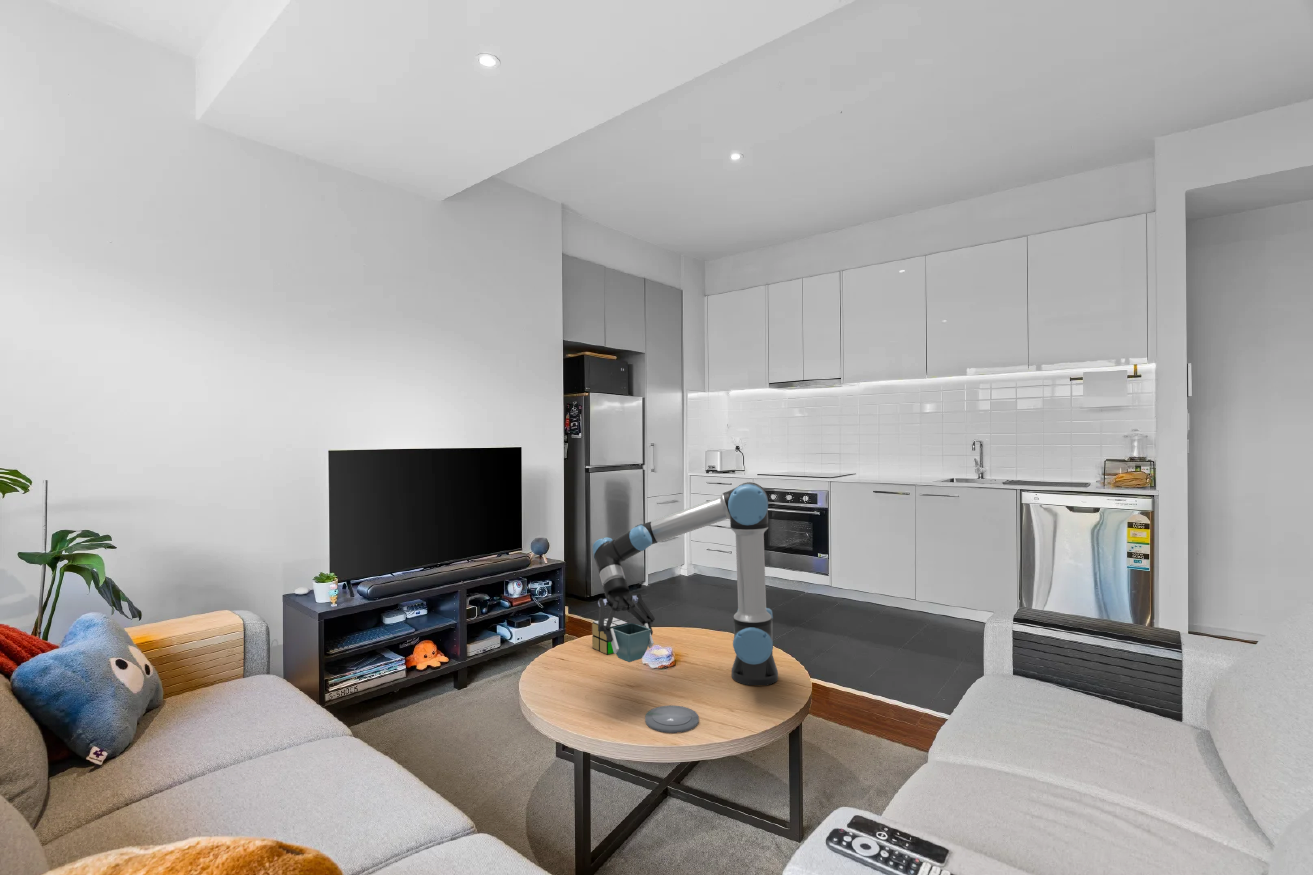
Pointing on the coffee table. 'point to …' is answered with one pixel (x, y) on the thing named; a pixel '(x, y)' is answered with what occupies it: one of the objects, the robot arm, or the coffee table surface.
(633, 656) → the flower pot
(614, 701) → the coffee table surface
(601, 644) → the puzzle cube
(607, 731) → the coffee table surface
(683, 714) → the saucer
